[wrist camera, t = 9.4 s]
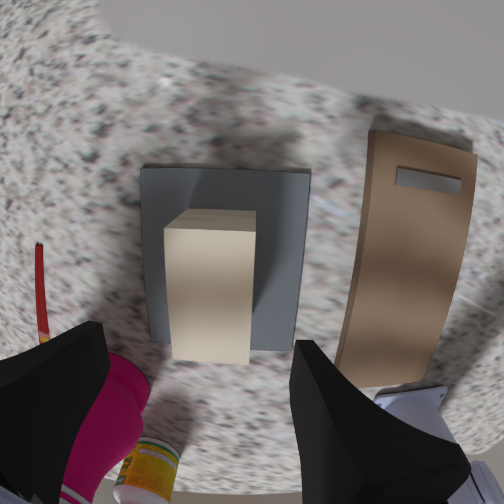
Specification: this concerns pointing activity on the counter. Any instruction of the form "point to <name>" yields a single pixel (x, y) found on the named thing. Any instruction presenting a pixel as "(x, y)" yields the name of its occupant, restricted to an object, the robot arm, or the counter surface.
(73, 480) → the pepper mill
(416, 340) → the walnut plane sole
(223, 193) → the slate mat
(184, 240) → the cap
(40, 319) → the chopstick
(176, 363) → the counter surface
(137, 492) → the supplement bottle
